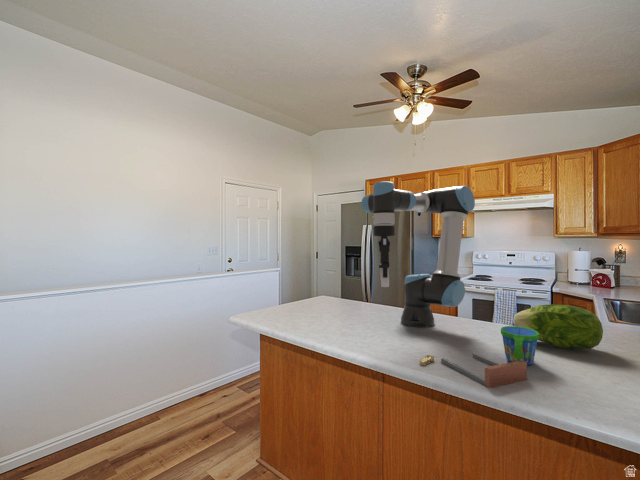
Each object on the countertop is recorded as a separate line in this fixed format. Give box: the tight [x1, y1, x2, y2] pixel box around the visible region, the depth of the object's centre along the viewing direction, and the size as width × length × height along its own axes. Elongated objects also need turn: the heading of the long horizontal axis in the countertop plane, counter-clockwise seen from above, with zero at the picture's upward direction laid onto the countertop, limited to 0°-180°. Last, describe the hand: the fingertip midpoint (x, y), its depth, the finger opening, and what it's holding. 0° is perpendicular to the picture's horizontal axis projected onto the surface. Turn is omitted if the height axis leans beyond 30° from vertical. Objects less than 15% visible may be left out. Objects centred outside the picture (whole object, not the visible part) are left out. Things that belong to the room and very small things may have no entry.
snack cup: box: [500, 325, 539, 366], centre depth 102 cm, size 16×10×10 cm
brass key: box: [419, 354, 435, 367], centre depth 102 cm, size 7×3×1 cm, turn 135°
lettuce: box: [512, 304, 604, 350], centre depth 117 cm, size 15×27×16 cm, turn 53°
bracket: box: [440, 352, 528, 389], centre depth 96 cm, size 14×18×5 cm
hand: (384, 283), depth 114 cm, fingers open, 13 cm apart
